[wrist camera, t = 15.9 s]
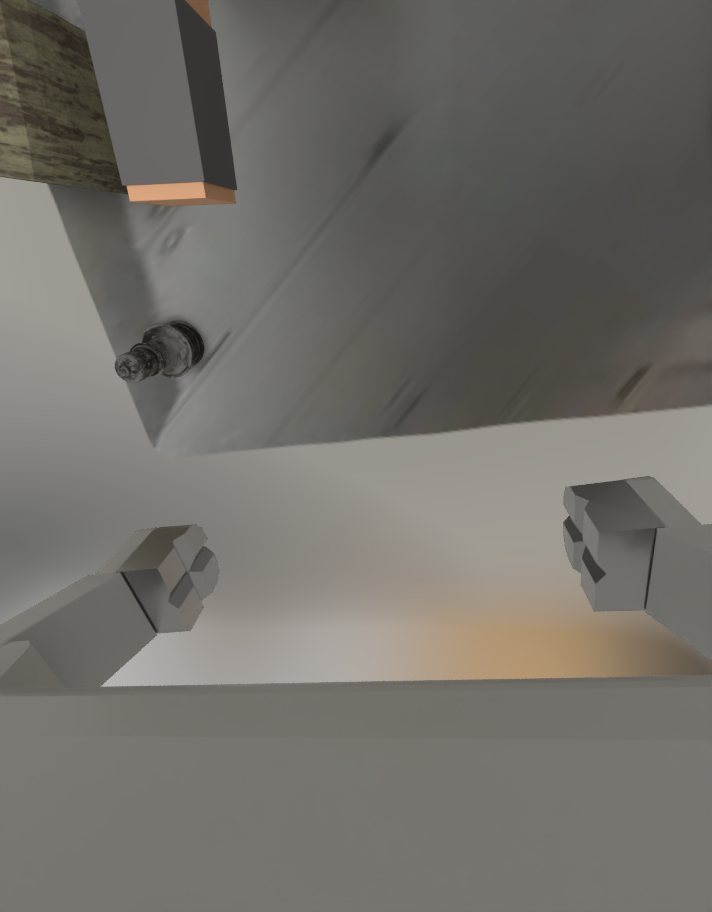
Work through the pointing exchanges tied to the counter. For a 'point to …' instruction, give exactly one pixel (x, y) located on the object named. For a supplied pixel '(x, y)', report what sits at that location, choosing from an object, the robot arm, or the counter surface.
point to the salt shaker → (161, 352)
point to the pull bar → (162, 99)
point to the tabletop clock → (51, 103)
